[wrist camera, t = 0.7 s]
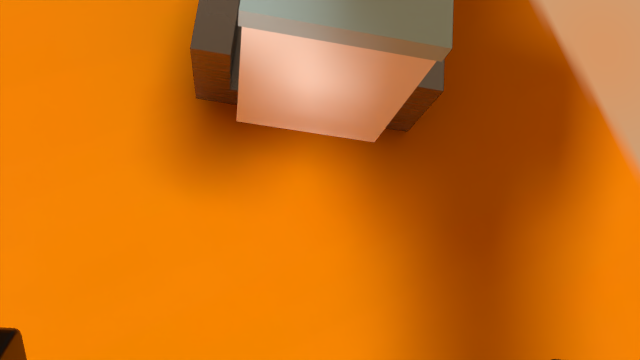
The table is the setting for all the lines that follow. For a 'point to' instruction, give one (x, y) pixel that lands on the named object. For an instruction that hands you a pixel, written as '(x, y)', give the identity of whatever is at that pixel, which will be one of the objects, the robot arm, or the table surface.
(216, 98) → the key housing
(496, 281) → the table surface
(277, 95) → the plunger key
